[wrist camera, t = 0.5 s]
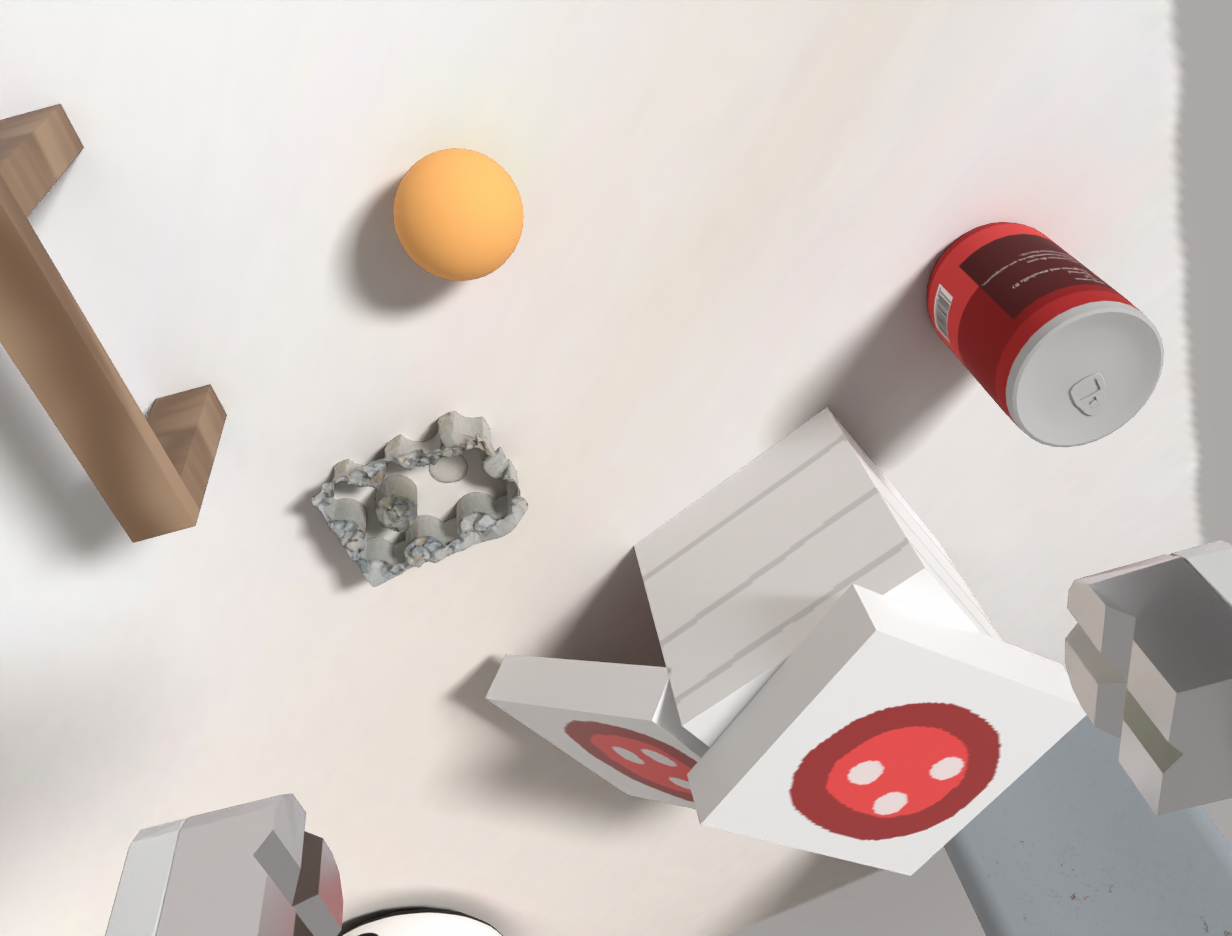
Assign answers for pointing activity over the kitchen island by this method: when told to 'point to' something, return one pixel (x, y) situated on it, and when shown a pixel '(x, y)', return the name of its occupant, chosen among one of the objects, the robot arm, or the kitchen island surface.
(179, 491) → the bridge
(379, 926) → the milk container
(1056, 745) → the flask
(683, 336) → the kitchen island surface
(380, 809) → the kitchen island surface
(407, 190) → the ball
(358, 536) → the egg carton
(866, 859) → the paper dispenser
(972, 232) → the canned food
